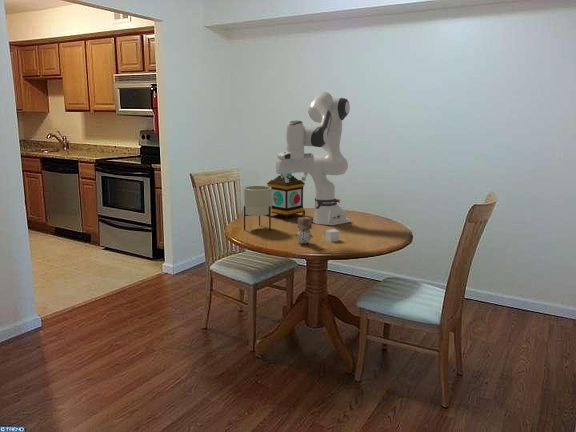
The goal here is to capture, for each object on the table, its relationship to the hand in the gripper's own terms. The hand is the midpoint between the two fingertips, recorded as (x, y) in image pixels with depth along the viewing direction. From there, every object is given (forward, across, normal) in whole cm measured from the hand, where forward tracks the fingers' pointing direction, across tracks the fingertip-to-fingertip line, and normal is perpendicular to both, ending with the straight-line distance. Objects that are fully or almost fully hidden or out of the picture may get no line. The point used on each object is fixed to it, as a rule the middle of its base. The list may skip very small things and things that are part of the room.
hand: (295, 181), depth 235 cm
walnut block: (+21, +2, +14) cm, 25 cm away
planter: (+29, +12, -23) cm, 39 cm away
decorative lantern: (+31, -16, -46) cm, 57 cm away
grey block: (+29, -13, +14) cm, 35 cm away
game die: (+29, +3, +14) cm, 32 cm away
